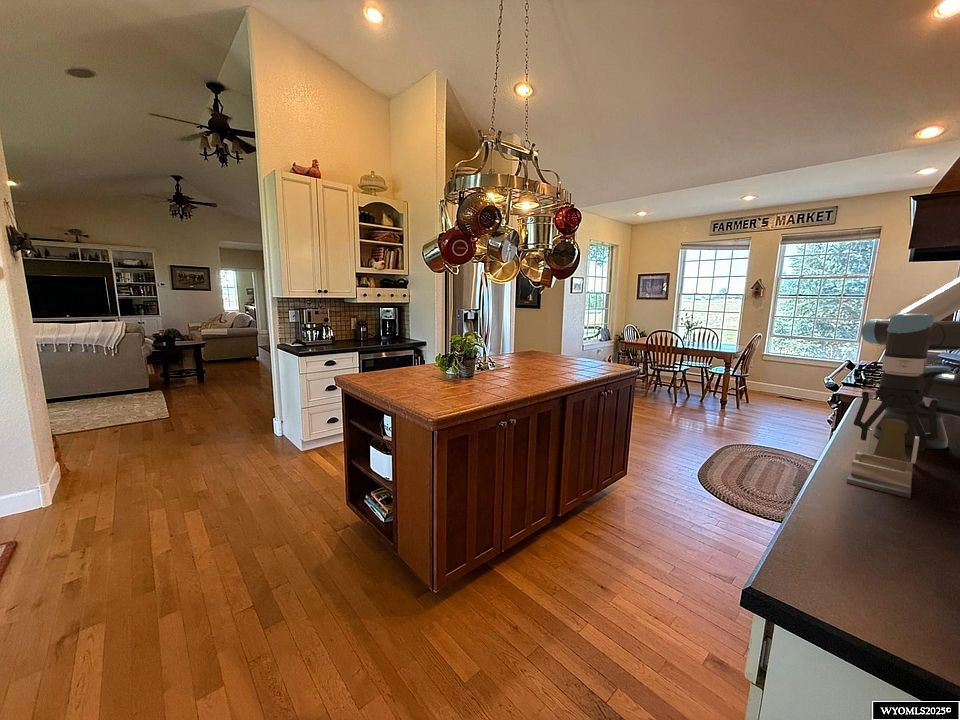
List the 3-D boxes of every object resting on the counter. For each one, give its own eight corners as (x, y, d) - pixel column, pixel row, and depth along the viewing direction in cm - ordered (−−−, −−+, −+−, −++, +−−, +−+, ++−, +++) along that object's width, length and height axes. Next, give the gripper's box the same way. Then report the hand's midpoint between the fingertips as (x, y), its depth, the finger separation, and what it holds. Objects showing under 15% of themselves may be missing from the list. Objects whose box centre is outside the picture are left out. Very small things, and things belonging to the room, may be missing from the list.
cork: (912, 464, 100) (919, 424, 99) (884, 463, 101) (890, 422, 100) (892, 456, 106) (898, 417, 105) (866, 454, 107) (872, 416, 106)
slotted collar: (855, 461, 102) (857, 447, 102) (911, 474, 95) (914, 458, 94) (846, 482, 91) (849, 466, 90) (910, 498, 83) (913, 480, 83)
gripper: (845, 370, 106) (835, 449, 109) (967, 381, 90) (950, 473, 94) (849, 367, 111) (838, 443, 114) (964, 377, 95) (949, 464, 98)
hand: (889, 456), depth 104 cm, fingers open, 8 cm apart
